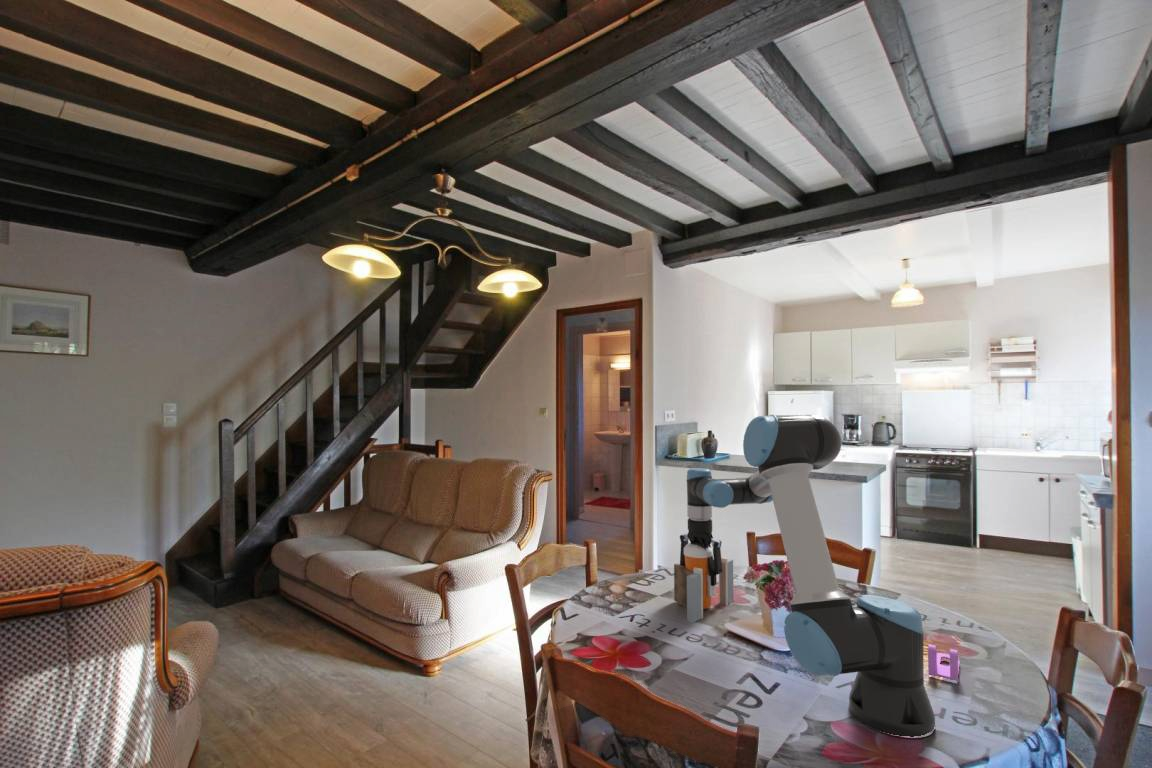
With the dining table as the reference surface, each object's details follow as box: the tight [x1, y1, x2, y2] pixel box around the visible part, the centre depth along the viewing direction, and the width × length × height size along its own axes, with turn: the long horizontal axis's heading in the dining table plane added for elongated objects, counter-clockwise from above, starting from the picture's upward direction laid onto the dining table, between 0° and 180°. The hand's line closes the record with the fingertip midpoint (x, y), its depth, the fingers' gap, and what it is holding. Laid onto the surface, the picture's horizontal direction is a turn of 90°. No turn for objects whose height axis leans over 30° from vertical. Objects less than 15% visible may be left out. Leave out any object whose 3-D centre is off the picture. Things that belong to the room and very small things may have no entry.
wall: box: [686, 556, 734, 624], centre depth 166 cm, size 24×3×14 cm, turn 136°
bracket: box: [927, 643, 961, 682], centre depth 130 cm, size 13×6×7 cm, turn 143°
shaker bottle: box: [684, 541, 713, 610], centre depth 169 cm, size 9×9×20 cm
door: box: [673, 563, 694, 609], centre depth 168 cm, size 13×2×12 cm, turn 24°
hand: (701, 592), depth 169 cm, fingers open, 6 cm apart
